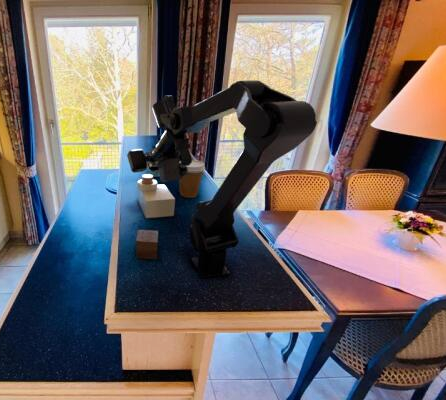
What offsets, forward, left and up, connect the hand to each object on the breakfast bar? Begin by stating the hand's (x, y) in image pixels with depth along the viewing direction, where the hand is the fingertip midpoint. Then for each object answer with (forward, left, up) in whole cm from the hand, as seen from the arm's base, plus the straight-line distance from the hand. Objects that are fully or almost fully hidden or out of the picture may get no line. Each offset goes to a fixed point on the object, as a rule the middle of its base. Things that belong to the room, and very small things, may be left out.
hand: (151, 171), depth 83 cm
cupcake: (+30, -9, -13) cm, 34 cm away
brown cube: (-24, +7, -13) cm, 28 cm away
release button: (+3, +1, -5) cm, 6 cm away
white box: (-1, -1, -13) cm, 13 cm away
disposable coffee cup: (+8, -16, -13) cm, 22 cm away
